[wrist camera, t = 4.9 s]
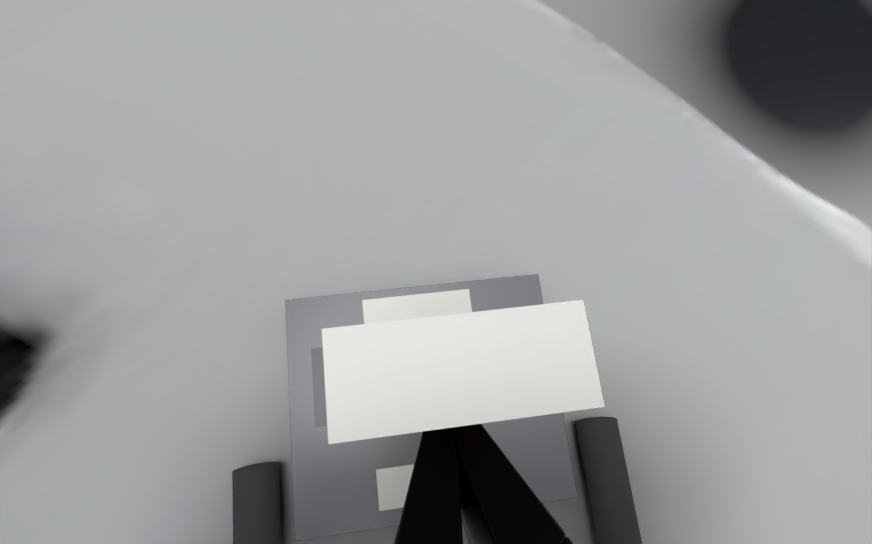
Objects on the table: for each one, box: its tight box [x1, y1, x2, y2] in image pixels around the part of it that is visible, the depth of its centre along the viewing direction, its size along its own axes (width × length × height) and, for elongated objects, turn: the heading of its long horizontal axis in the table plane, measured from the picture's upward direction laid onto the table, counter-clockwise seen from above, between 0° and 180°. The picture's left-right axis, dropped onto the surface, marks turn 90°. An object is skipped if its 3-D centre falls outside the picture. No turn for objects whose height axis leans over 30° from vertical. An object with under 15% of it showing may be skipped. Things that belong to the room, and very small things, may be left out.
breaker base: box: [285, 274, 577, 541], centre depth 18 cm, size 10×12×3 cm
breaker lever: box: [322, 300, 605, 444], centre depth 12 cm, size 2×4×13 cm, turn 97°
